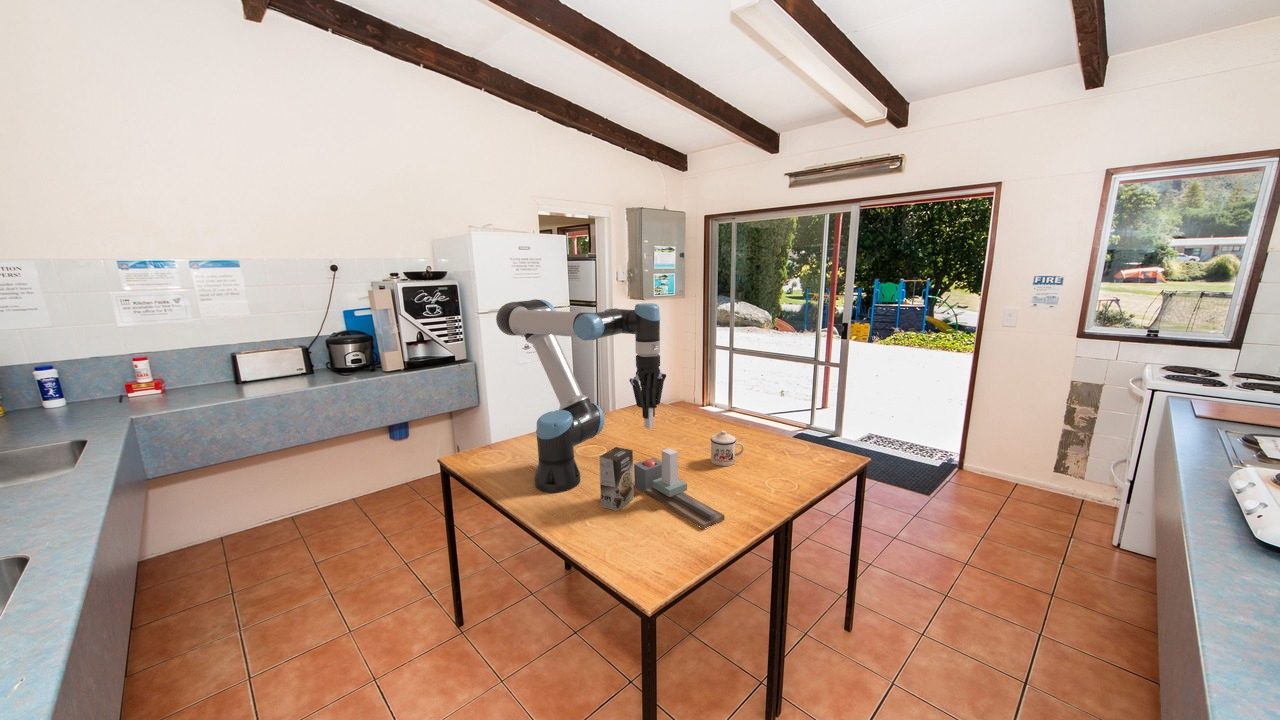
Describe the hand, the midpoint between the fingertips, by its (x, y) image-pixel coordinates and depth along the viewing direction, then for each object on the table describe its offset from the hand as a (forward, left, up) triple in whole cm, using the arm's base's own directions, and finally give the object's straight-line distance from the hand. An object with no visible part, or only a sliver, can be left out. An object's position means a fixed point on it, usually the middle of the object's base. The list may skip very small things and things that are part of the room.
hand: (648, 427), depth 148 cm
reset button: (0, 0, -17) cm, 17 cm away
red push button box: (0, 0, -20) cm, 20 cm away
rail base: (0, -16, -20) cm, 26 cm away
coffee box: (-14, -2, -21) cm, 25 cm away
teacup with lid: (+34, -2, -21) cm, 40 cm away
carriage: (0, -10, -17) cm, 20 cm away
